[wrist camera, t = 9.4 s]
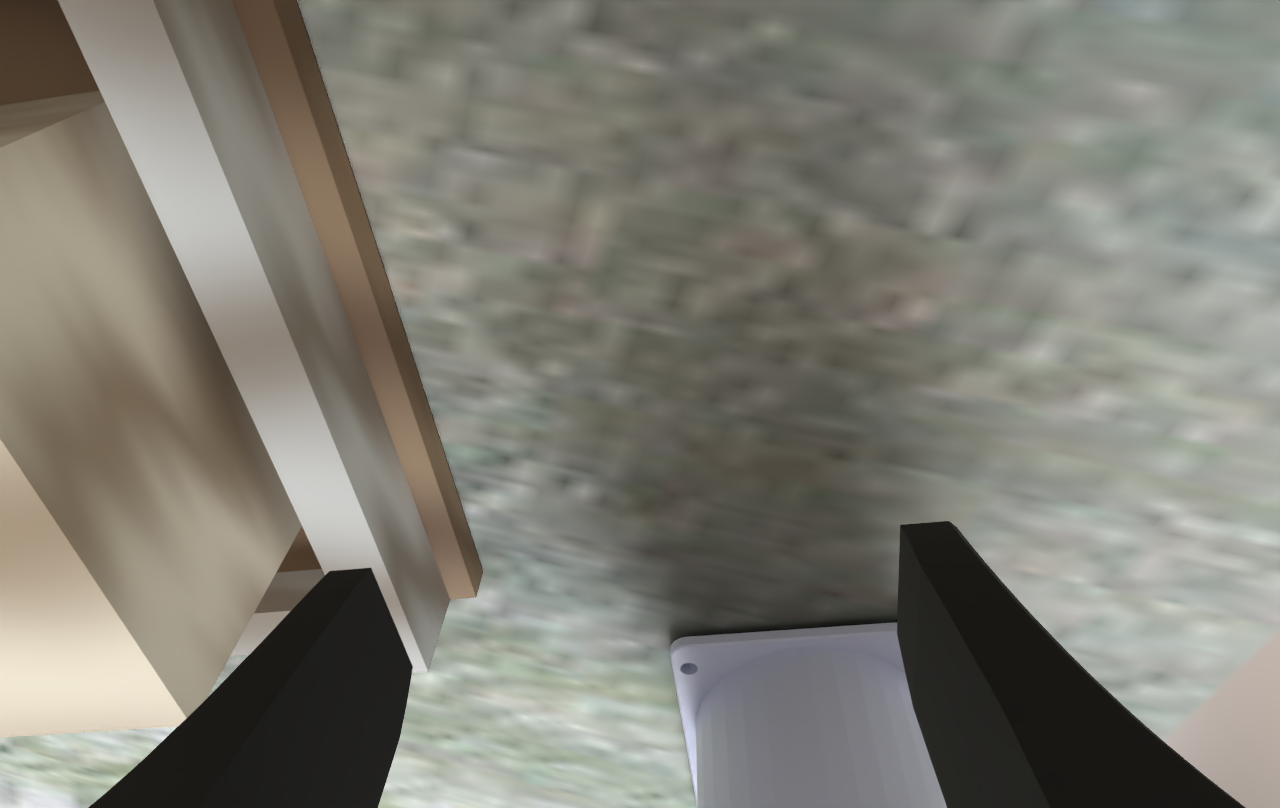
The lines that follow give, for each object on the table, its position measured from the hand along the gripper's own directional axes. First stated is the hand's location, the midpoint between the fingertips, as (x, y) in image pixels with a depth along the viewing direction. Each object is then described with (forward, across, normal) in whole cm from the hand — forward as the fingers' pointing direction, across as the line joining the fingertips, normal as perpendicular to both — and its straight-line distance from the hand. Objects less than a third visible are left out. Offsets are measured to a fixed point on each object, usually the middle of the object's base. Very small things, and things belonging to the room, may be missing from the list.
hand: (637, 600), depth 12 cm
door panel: (+8, +11, -1) cm, 14 cm away
